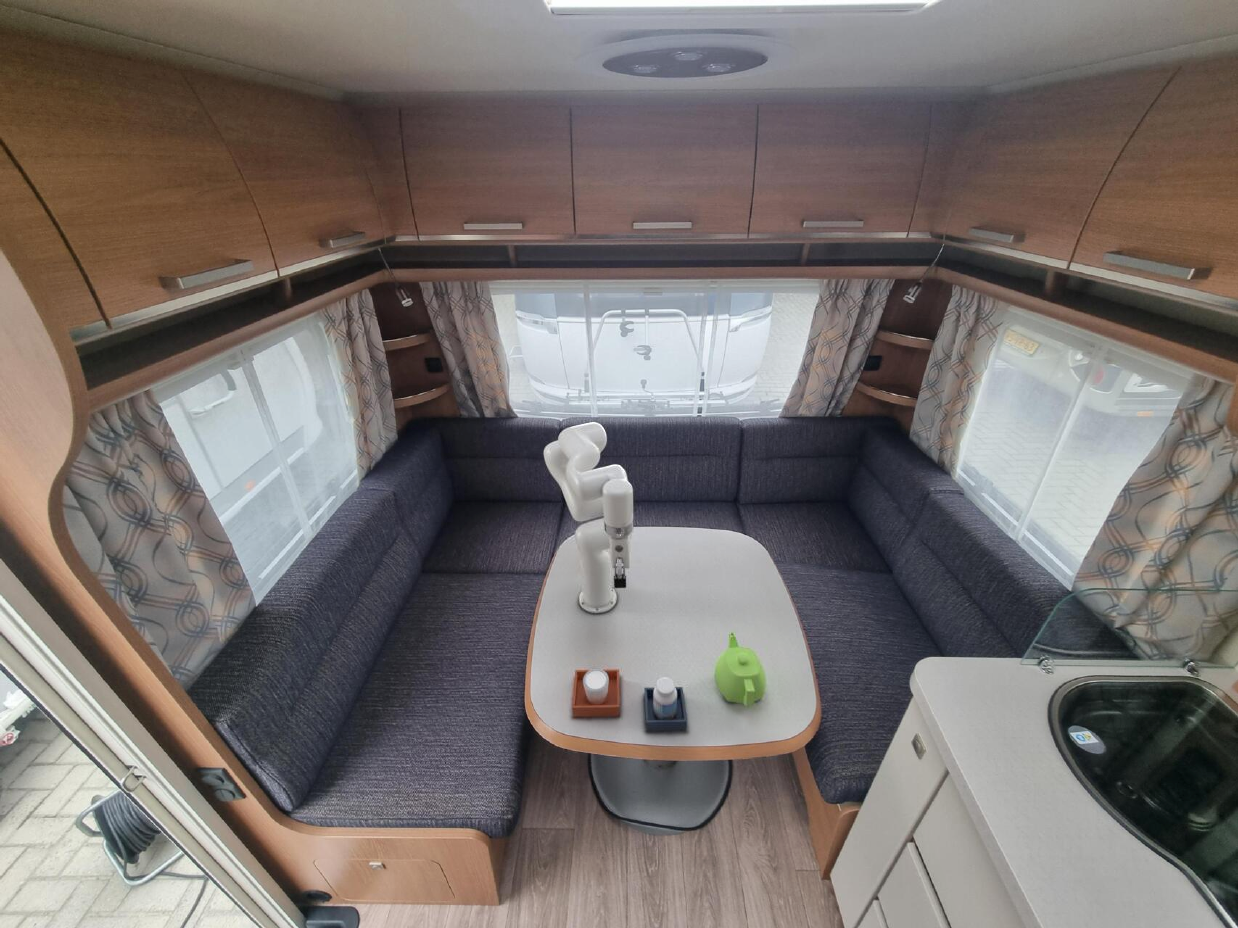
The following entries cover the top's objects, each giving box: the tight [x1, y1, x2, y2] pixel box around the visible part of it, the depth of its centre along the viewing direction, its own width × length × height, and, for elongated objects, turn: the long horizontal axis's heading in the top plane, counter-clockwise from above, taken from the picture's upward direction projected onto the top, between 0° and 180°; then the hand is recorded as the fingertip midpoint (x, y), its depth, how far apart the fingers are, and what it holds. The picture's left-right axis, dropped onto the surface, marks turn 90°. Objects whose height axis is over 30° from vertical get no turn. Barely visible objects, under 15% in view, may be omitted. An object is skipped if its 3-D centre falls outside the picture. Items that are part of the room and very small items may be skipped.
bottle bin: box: [643, 686, 688, 732], centre depth 128 cm, size 10×10×4 cm
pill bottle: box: [653, 676, 677, 720], centre depth 126 cm, size 6×6×11 cm
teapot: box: [714, 631, 767, 708], centre depth 132 cm, size 20×13×13 cm
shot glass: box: [583, 668, 609, 705], centre depth 131 cm, size 7×7×7 cm
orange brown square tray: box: [571, 668, 621, 718], centre depth 132 cm, size 11×12×4 cm
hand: (620, 574), depth 134 cm, fingers open, 9 cm apart
